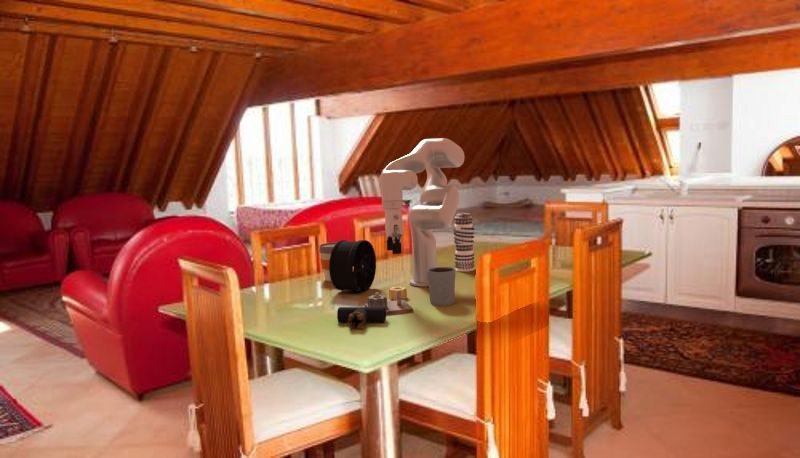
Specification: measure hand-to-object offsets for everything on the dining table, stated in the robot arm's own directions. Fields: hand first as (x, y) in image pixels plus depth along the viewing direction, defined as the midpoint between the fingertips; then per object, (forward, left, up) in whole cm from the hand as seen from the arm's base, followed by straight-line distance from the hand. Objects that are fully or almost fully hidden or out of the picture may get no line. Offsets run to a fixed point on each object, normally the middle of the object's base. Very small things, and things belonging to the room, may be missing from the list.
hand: (394, 252), depth 234 cm
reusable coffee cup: (+16, -44, -17) cm, 50 cm away
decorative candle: (-41, -39, -17) cm, 59 cm away
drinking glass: (-14, +13, -17) cm, 26 cm away
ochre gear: (-1, 0, -17) cm, 17 cm away
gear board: (+6, +15, -17) cm, 24 cm away
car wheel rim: (+12, -19, -17) cm, 28 cm away
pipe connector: (+19, +30, -18) cm, 39 cm away
